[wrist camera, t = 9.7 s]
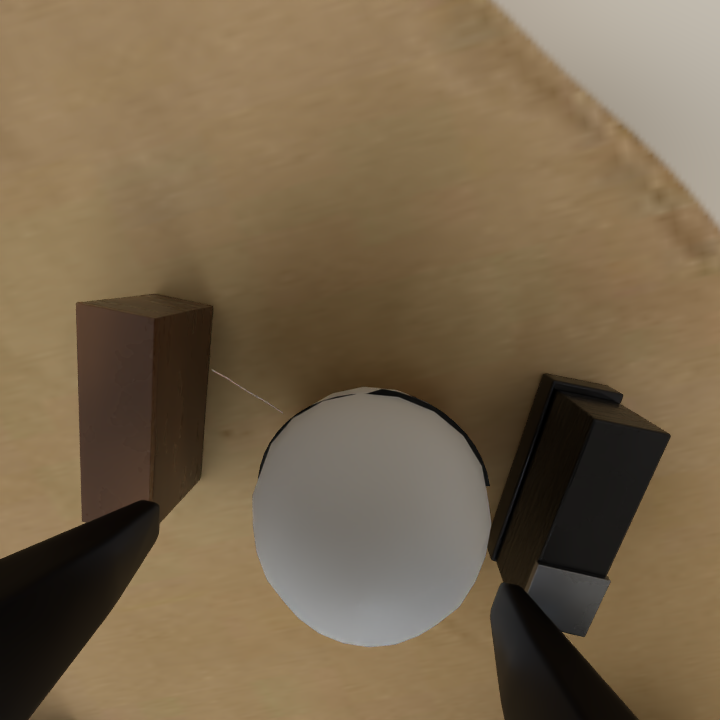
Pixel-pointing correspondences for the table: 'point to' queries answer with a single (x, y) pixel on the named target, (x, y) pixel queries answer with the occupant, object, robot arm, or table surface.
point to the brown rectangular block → (141, 400)
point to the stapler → (572, 497)
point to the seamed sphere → (371, 515)
